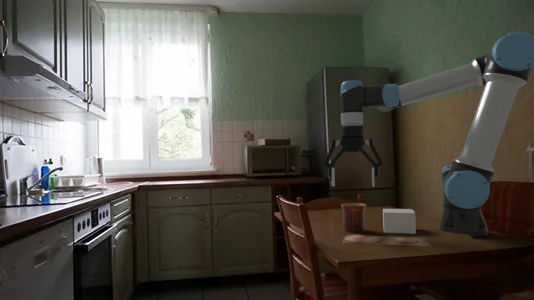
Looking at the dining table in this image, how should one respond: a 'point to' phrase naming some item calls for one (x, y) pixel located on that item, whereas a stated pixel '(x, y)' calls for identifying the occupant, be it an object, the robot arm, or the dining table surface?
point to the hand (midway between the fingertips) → (353, 186)
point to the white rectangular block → (399, 221)
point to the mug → (354, 217)
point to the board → (385, 240)
